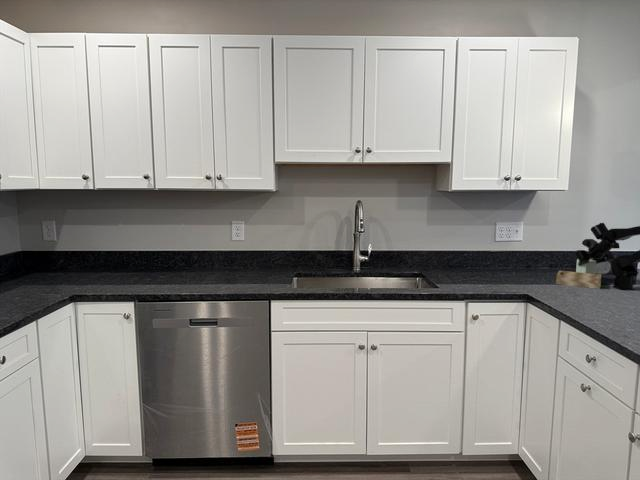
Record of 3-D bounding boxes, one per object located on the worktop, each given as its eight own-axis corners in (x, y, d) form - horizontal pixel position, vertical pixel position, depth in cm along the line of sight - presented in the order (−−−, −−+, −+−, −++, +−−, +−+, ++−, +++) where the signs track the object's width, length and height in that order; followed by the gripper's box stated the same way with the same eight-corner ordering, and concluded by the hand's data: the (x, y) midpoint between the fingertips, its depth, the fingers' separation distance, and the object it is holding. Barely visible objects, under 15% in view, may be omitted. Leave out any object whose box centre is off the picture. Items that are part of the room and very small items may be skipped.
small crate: (594, 279, 213) (596, 260, 211) (584, 280, 211) (586, 261, 210) (585, 277, 218) (586, 258, 217) (575, 277, 217) (576, 259, 216)
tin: (608, 273, 229) (610, 258, 228) (612, 274, 226) (613, 259, 225) (580, 273, 230) (581, 258, 229) (583, 274, 227) (584, 259, 226)
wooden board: (600, 283, 204) (601, 274, 204) (600, 288, 193) (600, 279, 192) (558, 279, 214) (559, 270, 214) (556, 284, 203) (556, 275, 202)
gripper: (610, 233, 210) (590, 252, 222) (579, 234, 206) (560, 253, 219) (623, 251, 203) (602, 269, 215) (591, 252, 200) (571, 270, 212)
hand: (583, 265), depth 215 cm, fingers closed on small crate, 6 cm apart
